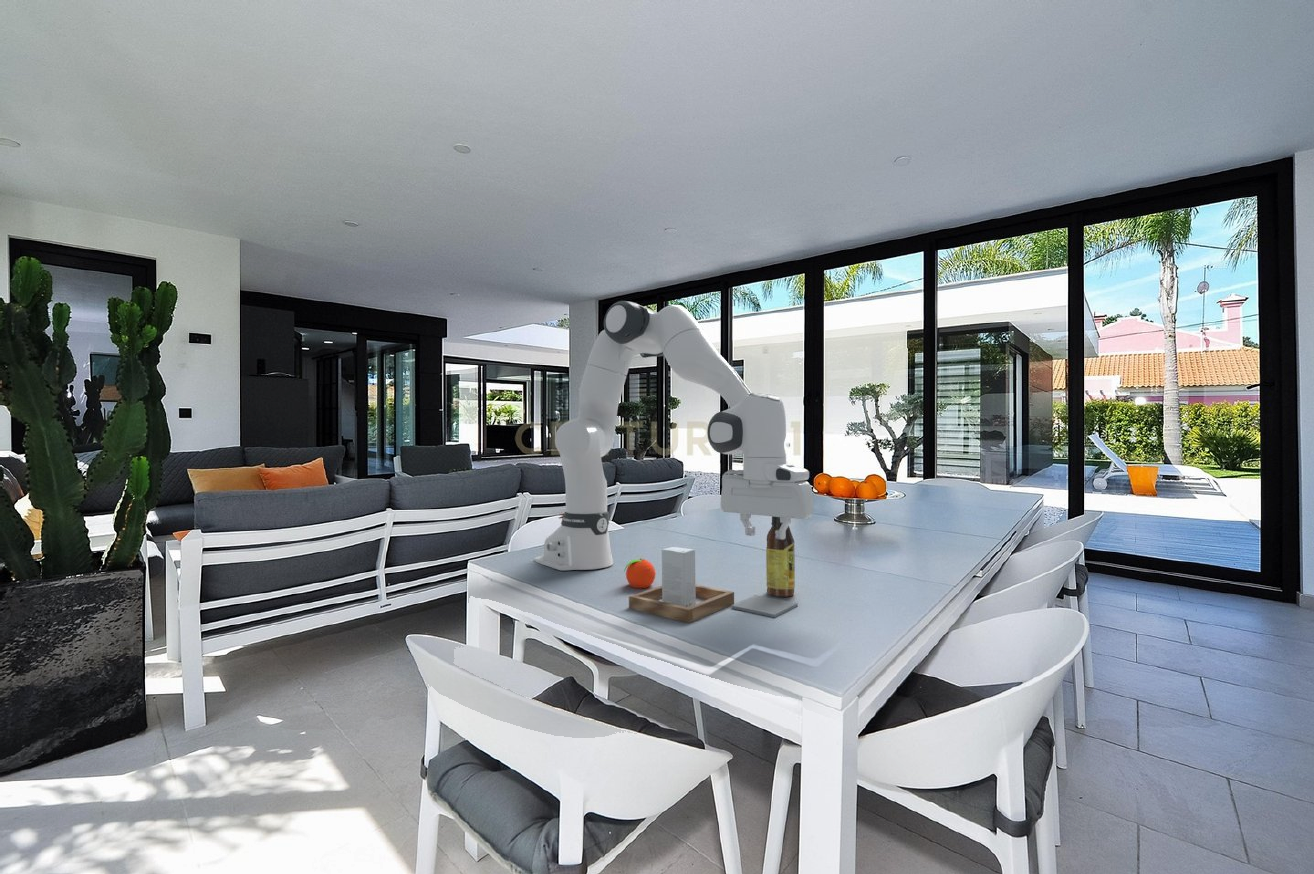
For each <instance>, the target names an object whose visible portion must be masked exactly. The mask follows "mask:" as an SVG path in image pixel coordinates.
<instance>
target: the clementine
mask: <svg viewBox="0 0 1314 874" xmlns="http://www.w3.org/2000/svg"><path fill="white" fill-rule="evenodd" d="M625 571H626V572H625ZM623 572H625V577H626V578H625V579H626V580H627V582H628V585H630V586H631V587H632V588H634V589H647V588H649V587H650V586H651V585H653V583H654V582H655V578H656V569H655V567H654V565H653V564H652V563H651V562H650V560H647V559H643V558H639V559H634V560H631V561H630V562H628V563H627V565H625V568H624V571H623Z"/></svg>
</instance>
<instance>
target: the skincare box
mask: <svg viewBox="0 0 1314 874" xmlns="http://www.w3.org/2000/svg"><path fill="white" fill-rule="evenodd" d="M661 571H662V572H661V586H662V598H661V602H665V603H670V604H674V605H679V606H683V607H690V606H693V605H695V604H697V603H696V602H697V601H696V588H695V585H696V549H694V548H693V549H692V548H685V547H678V546H677V547H676V546H671V547H668V548H662V549H661Z"/></svg>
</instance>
